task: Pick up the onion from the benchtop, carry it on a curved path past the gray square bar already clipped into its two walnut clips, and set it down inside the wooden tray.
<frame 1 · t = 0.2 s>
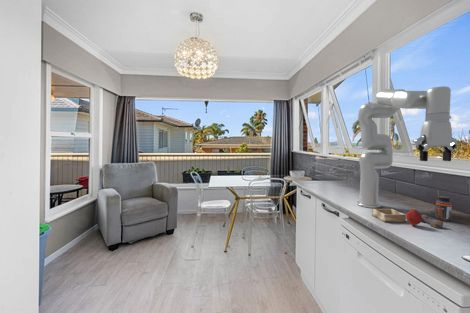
hand: (435, 160, 99), 30 cm above the worktop, fingers open, 9 cm apart
clip a: (422, 221, 117), on the worktop
onion: (413, 226, 110), on the worktop
supplement bottle: (442, 219, 119), on the worktop
wooden tray: (388, 218, 120), on the worktop
gray square bar: (429, 223, 113), resting on clip a
clip b: (436, 226, 109), on the worktop
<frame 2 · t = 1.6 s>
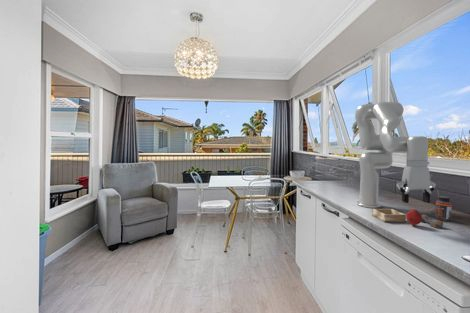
hand: (415, 202, 109), 11 cm above the worktop, fingers open, 9 cm apart
nothing on the worktop moved.
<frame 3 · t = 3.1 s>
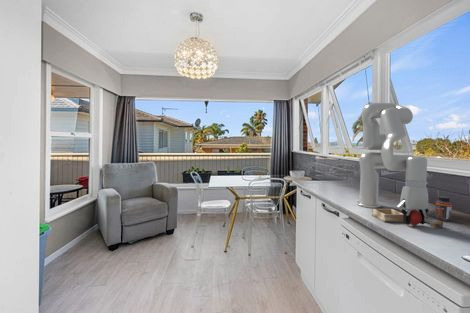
hand: (413, 223, 110), 1 cm above the worktop, fingers closed on onion, 5 cm apart
onion: (413, 226, 110), on the worktop, touching gripper
everything else where it was.
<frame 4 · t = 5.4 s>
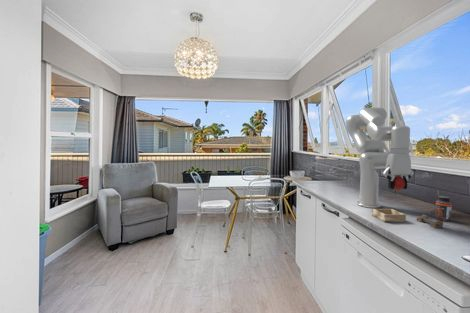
hand: (397, 188, 119), 15 cm above the worktop, fingers closed on onion, 5 cm apart
onion: (397, 191, 119), point 14 cm above the worktop, touching gripper
everything else where it was.
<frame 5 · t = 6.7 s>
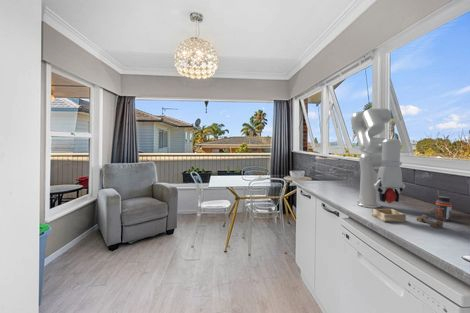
hand: (389, 200, 119), 9 cm above the worktop, fingers closed on onion, 5 cm apart
onion: (389, 203, 119), point 8 cm above the worktop, touching gripper
everything else where it was.
when the fingers open (4 cm above the worktop, at t = 7.8 s): onion drops 2 cm, resting on wooden tray.
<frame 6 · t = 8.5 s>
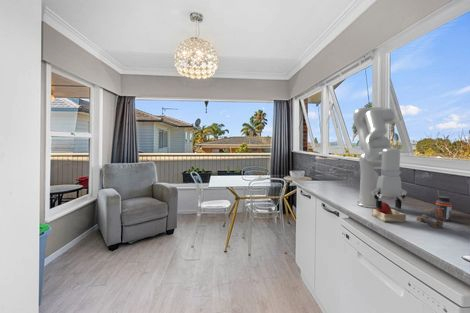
hand: (388, 208, 120), 5 cm above the worktop, fingers open, 9 cm apart
onion: (387, 216, 120), point 1 cm above the worktop, touching wooden tray, gripper
everything else where it was.
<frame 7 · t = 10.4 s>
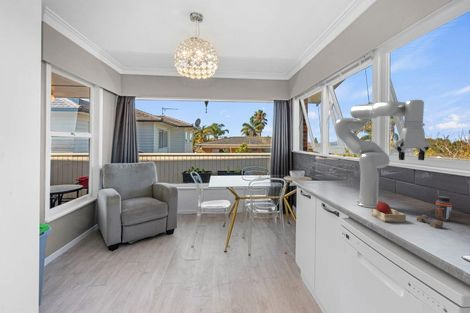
hand: (411, 160, 121), 29 cm above the worktop, fingers open, 9 cm apart
onion: (387, 216, 120), point 1 cm above the worktop, touching wooden tray
everything else where it was.
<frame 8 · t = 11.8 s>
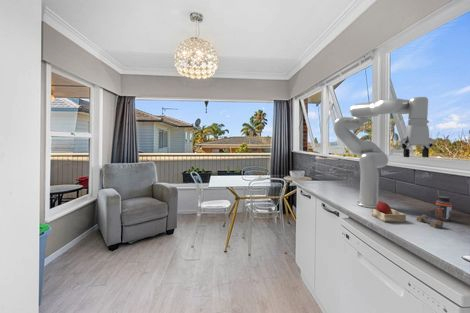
hand: (415, 157, 122), 30 cm above the worktop, fingers open, 9 cm apart
nothing on the worktop moved.
at the end: onion 0.1 cm from the wooden tray (horizontally); onion point 1.3 cm above the worktop; the gripper is holding nothing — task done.
